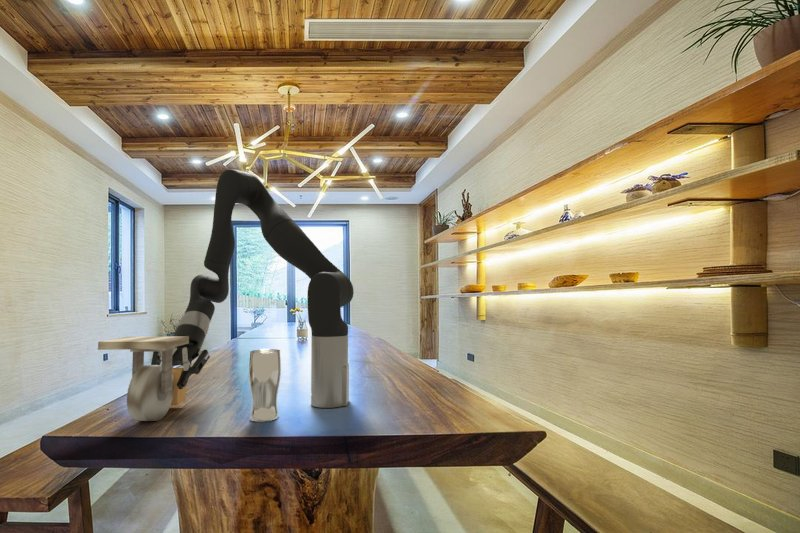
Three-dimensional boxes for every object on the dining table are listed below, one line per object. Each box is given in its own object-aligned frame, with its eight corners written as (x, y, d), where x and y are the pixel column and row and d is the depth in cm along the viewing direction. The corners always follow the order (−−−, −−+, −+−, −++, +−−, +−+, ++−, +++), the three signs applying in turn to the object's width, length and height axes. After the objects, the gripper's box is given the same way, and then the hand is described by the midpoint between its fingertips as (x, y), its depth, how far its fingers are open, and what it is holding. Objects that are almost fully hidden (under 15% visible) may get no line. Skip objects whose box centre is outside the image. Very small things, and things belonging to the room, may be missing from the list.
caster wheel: (194, 411, 103) (196, 334, 104) (164, 430, 89) (167, 341, 90) (134, 412, 103) (136, 334, 104) (95, 431, 89) (98, 341, 90)
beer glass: (286, 418, 98) (287, 350, 99) (258, 425, 93) (258, 354, 94) (270, 412, 103) (270, 348, 104) (242, 418, 98) (243, 351, 99)
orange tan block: (185, 400, 109) (186, 367, 109) (177, 405, 104) (177, 371, 105) (165, 400, 109) (166, 368, 109) (155, 405, 104) (156, 371, 104)
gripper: (159, 322, 115) (131, 378, 102) (214, 322, 115) (193, 378, 102) (168, 340, 120) (143, 396, 107) (221, 340, 120) (202, 395, 107)
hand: (167, 387), depth 105 cm, fingers closed on orange tan block, 5 cm apart
